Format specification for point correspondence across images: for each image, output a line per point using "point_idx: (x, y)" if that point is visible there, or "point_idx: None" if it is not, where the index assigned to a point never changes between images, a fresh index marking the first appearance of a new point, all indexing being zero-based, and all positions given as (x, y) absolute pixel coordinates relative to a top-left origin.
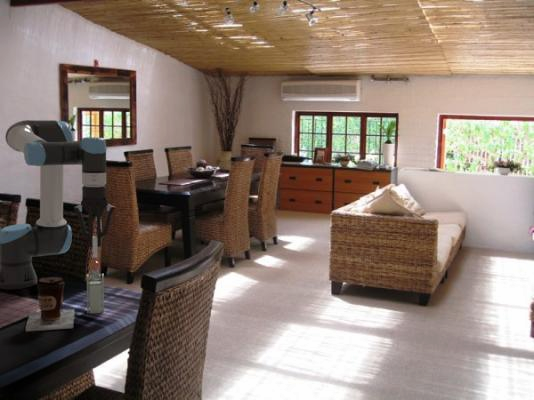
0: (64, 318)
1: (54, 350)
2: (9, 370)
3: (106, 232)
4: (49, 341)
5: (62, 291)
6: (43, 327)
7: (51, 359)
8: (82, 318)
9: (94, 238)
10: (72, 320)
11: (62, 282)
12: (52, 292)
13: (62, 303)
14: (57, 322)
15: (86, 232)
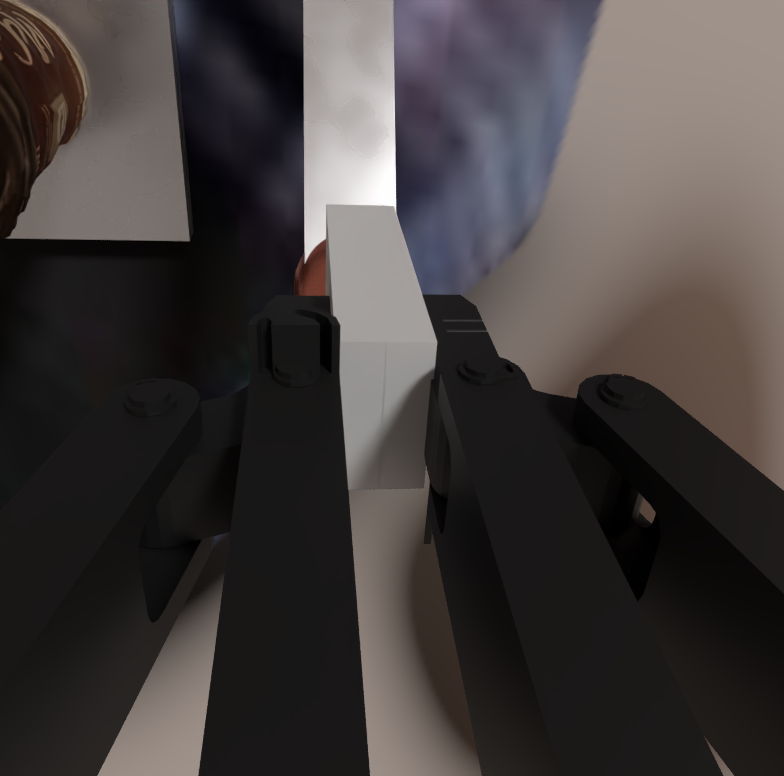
0: (116, 126)
1: None
2: None
3: (634, 547)
4: (94, 393)
5: (40, 151)
6: None
7: None
8: (238, 50)
9: (369, 484)
10: (179, 181)
11: (12, 178)
12: None
13: (68, 113)
14: (83, 199)
15: (199, 569)
